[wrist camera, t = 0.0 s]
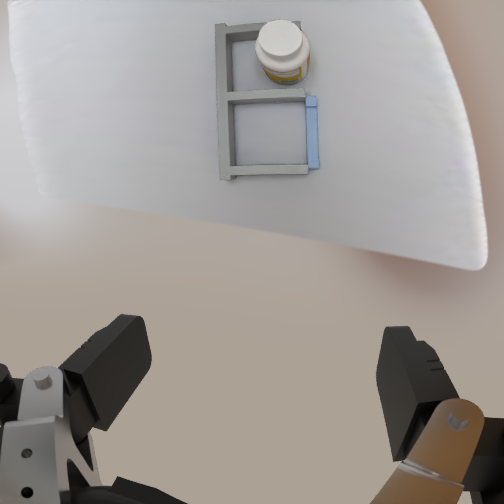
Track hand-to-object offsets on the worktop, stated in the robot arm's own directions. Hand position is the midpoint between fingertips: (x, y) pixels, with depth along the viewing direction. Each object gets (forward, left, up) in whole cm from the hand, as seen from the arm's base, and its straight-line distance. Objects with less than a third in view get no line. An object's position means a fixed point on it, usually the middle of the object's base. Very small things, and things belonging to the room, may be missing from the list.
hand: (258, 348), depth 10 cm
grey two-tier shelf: (-13, -3, -29) cm, 32 cm away
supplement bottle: (-17, 0, -30) cm, 34 cm away
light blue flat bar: (-9, +3, -29) cm, 31 cm away
